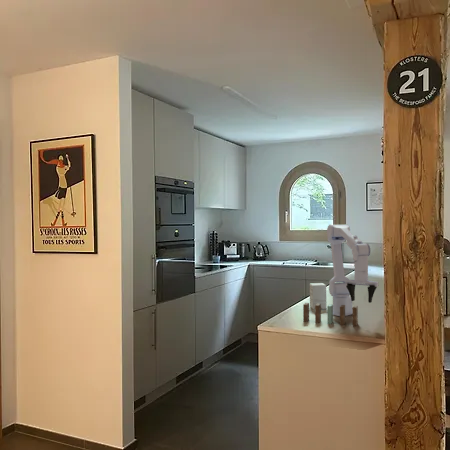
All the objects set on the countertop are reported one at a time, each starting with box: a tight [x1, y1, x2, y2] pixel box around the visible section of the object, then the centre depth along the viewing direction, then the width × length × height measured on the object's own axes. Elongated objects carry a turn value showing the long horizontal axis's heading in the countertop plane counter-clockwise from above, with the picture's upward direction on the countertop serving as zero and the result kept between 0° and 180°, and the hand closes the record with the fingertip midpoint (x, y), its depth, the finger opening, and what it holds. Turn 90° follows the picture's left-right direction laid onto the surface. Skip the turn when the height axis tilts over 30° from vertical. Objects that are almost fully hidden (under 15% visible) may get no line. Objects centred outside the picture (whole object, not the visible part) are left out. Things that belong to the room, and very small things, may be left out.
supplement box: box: [309, 282, 328, 310], centre depth 245 cm, size 7×7×13 cm
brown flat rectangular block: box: [352, 305, 359, 327], centre depth 207 cm, size 2×5×8 cm, turn 157°
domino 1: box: [302, 302, 310, 323], centre depth 216 cm, size 2×5×8 cm, turn 157°
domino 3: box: [326, 303, 334, 325], centre depth 211 cm, size 2×5×8 cm, turn 157°
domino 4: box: [339, 305, 346, 326], centre depth 209 cm, size 2×5×8 cm, turn 157°
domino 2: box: [314, 303, 322, 324], centre depth 214 cm, size 2×5×8 cm, turn 157°
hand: (361, 301), depth 206 cm, fingers open, 7 cm apart
